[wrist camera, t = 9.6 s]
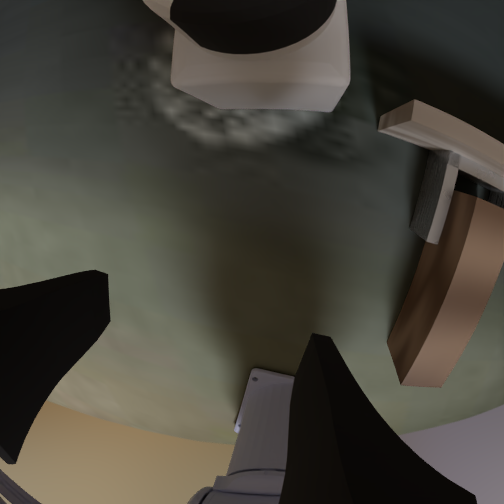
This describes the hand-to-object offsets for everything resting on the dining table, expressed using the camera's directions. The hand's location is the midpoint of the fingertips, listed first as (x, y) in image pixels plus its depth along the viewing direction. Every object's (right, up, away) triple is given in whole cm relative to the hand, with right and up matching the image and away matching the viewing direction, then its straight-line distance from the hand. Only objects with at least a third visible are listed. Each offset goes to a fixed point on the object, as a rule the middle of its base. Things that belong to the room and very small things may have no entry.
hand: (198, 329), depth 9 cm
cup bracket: (+16, +6, +6) cm, 18 cm away
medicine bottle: (+3, +14, +6) cm, 16 cm away
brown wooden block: (+15, +1, +8) cm, 17 cm away
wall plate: (+16, +9, +5) cm, 19 cm away
